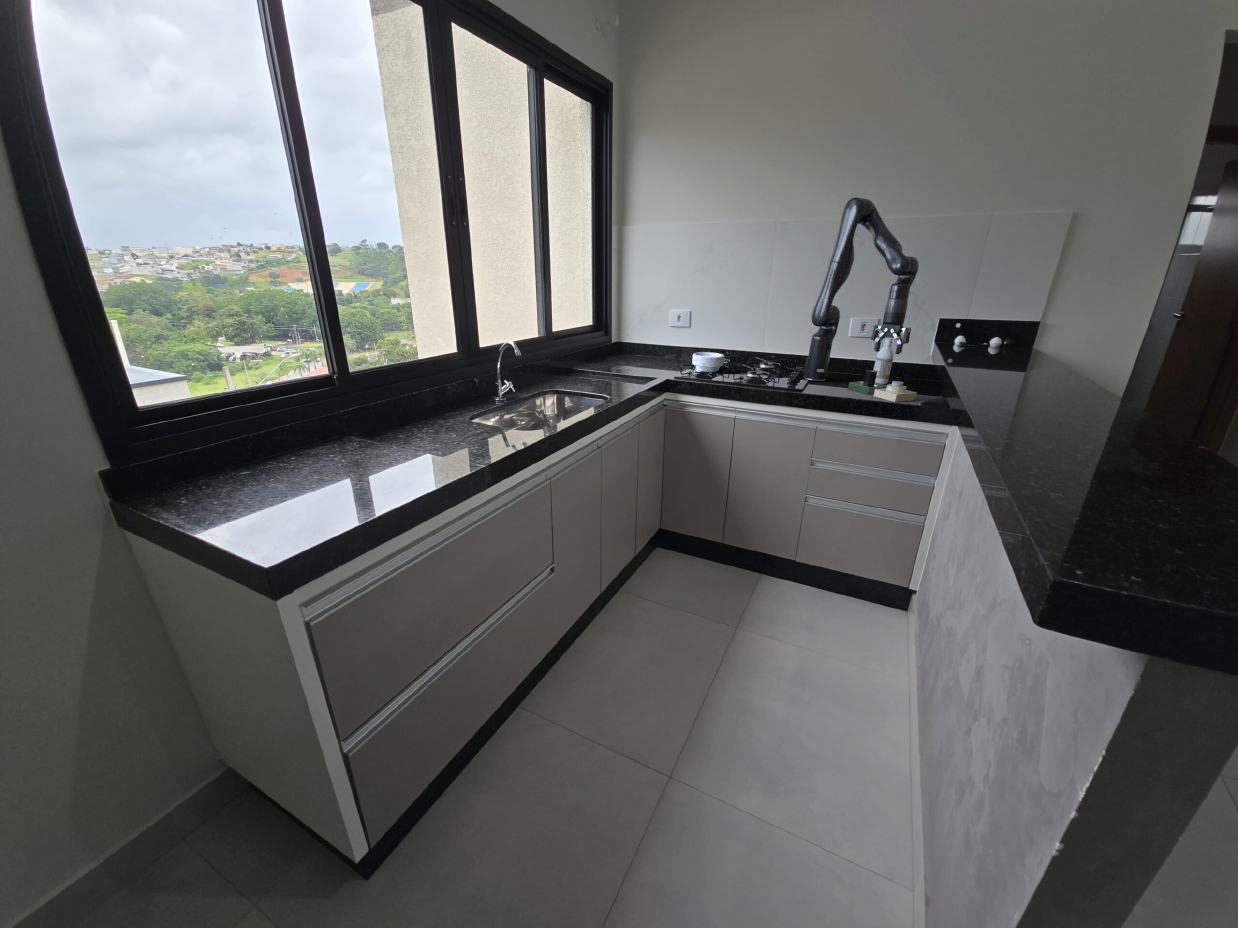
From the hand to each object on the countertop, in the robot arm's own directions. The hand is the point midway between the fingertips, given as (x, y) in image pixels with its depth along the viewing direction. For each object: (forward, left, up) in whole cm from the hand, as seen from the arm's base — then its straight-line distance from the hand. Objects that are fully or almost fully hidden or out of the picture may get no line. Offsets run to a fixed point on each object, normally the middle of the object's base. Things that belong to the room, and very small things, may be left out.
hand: (887, 352), depth 204 cm
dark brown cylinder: (-7, +2, -14) cm, 16 cm away
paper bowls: (-64, -41, -17) cm, 78 cm away
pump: (+6, +2, -13) cm, 14 cm away
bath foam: (-18, +23, -17) cm, 34 cm away
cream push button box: (+6, +2, -17) cm, 18 cm away
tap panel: (-7, +2, -17) cm, 19 cm away
